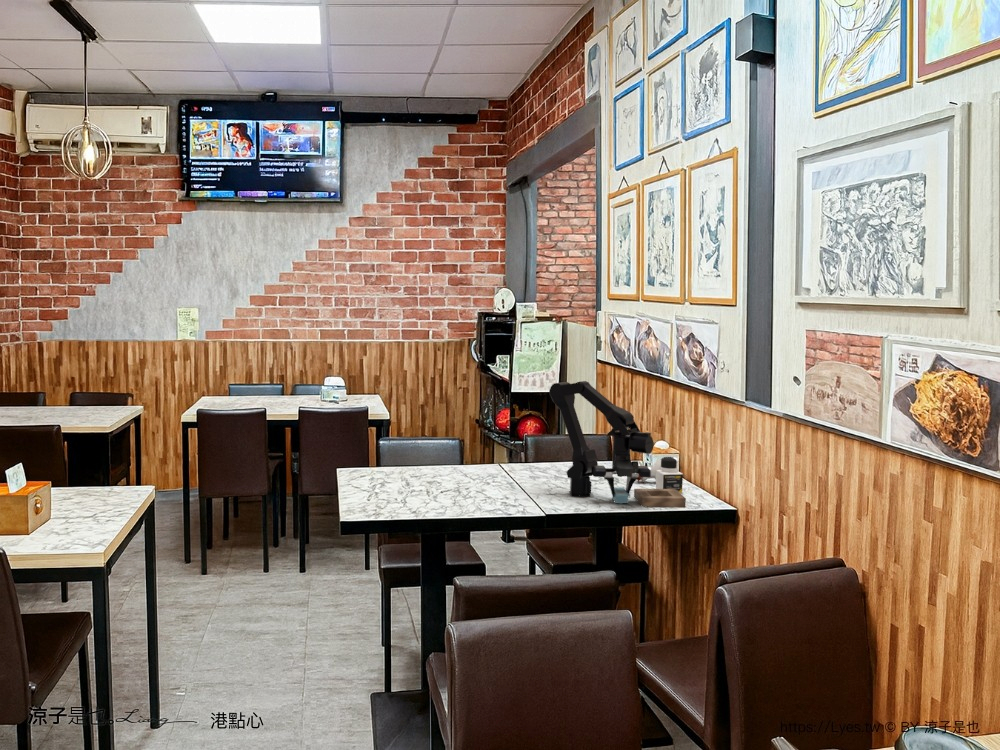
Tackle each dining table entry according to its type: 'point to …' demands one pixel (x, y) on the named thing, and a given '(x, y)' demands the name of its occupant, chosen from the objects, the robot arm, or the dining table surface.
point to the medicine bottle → (669, 475)
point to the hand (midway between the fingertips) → (620, 497)
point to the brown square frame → (660, 497)
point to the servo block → (620, 495)
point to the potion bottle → (652, 471)
